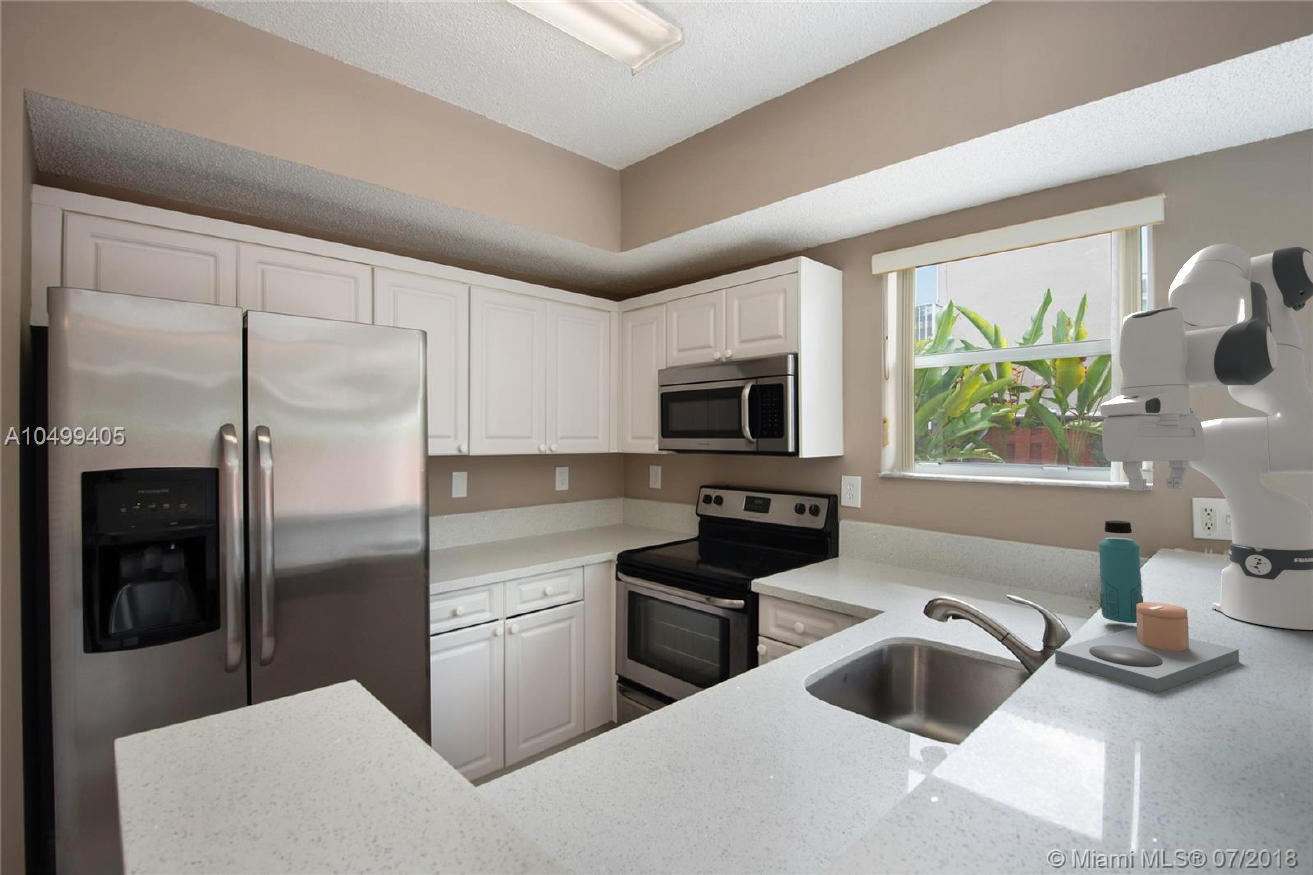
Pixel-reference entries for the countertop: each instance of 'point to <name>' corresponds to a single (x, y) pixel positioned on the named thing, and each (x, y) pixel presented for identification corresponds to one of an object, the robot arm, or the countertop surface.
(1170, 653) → the mount
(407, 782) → the countertop surface
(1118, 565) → the beverage bottle
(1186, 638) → the knob
